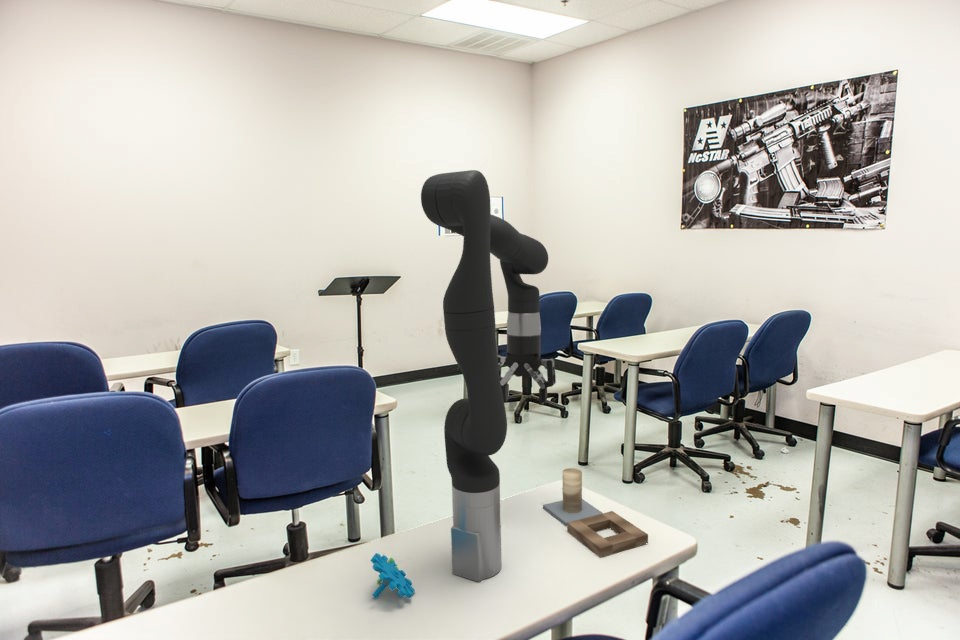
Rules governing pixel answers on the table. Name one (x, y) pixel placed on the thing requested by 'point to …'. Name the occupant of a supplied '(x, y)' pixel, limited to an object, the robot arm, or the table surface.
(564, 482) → the peg
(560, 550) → the table surface
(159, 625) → the table surface
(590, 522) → the pocket block
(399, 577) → the blue branched plastic piece
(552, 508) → the mat
